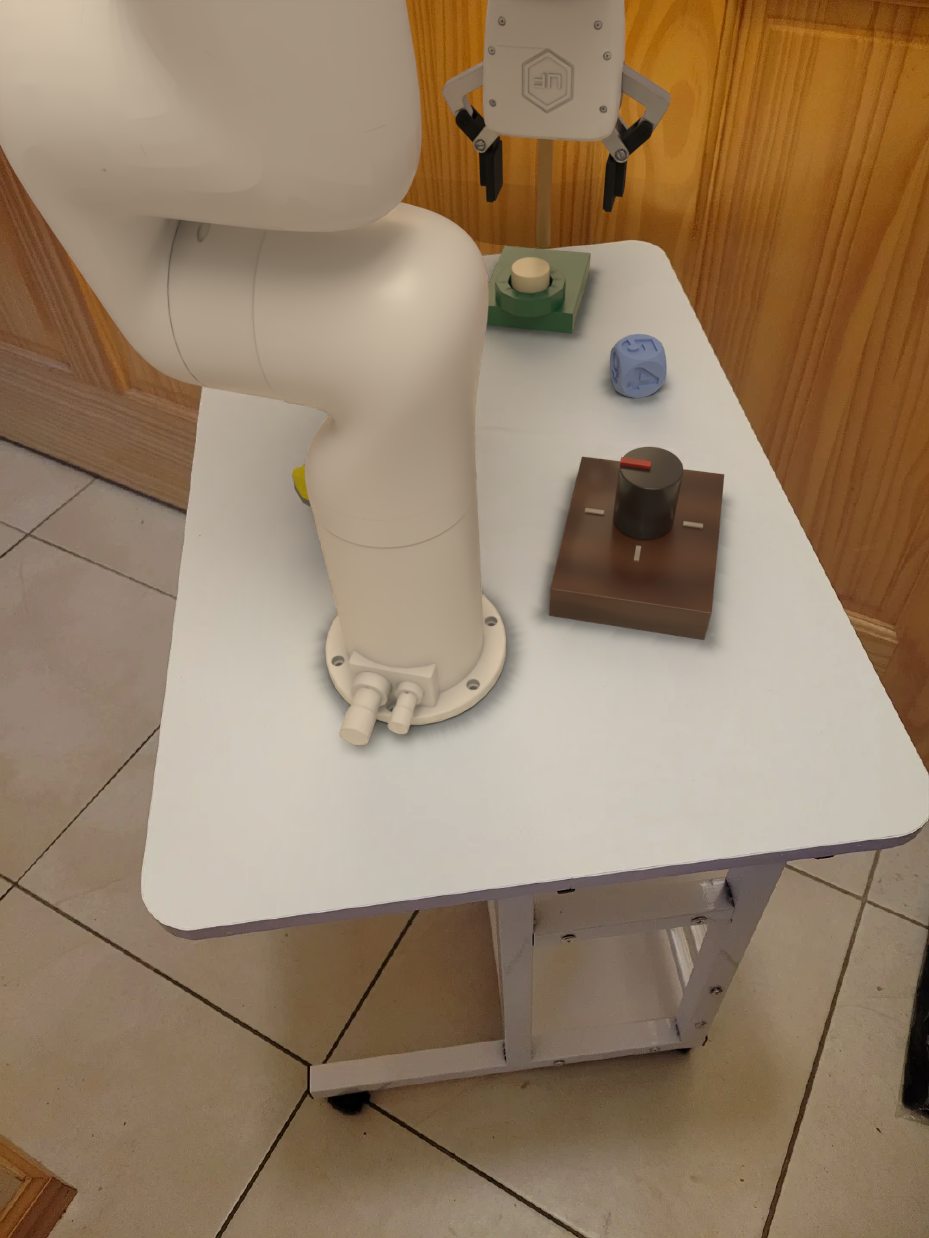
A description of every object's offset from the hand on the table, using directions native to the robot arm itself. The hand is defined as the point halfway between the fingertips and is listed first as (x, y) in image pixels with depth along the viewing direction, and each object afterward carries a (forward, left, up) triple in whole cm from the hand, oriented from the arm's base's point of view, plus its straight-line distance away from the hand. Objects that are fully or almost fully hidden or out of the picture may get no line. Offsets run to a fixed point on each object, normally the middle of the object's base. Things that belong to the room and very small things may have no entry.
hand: (551, 199), depth 74 cm
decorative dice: (-5, -9, -14) cm, 17 cm away
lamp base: (+8, +3, -14) cm, 16 cm away
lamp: (+11, +2, -10) cm, 15 cm away
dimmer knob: (-24, -12, -11) cm, 29 cm away
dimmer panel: (-25, -12, -14) cm, 31 cm away
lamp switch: (+4, +2, -10) cm, 11 cm away
